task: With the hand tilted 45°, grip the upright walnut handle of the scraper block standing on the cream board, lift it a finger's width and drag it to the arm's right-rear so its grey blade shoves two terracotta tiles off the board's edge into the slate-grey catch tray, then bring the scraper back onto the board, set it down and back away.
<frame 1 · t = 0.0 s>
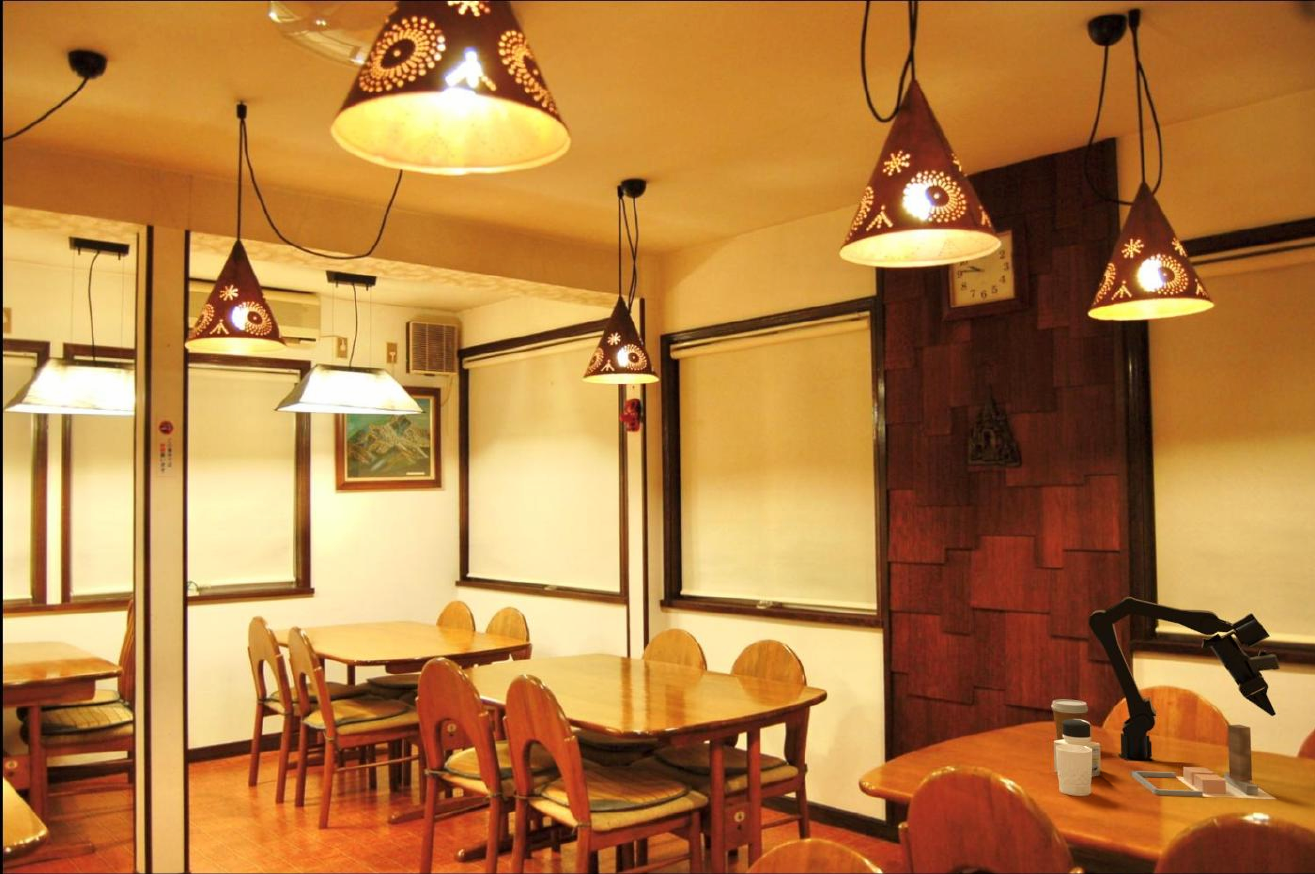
hand: (1272, 711, 259), 15 cm above the table, tool tilted 35°, fingers open, 9 cm apart
container: (1077, 774, 256), on the table
disposable coffee cup: (1070, 747, 285), on the table
tile a: (1209, 790, 237), point 1 cm above the table, touching board
white cup: (1075, 792, 240), on the table
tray: (1165, 790, 241), on the table
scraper: (1241, 787, 239), point 1 cm above the table, touching board
tile b: (1198, 782, 244), point 1 cm above the table, touching board
board: (1223, 792, 240), on the table
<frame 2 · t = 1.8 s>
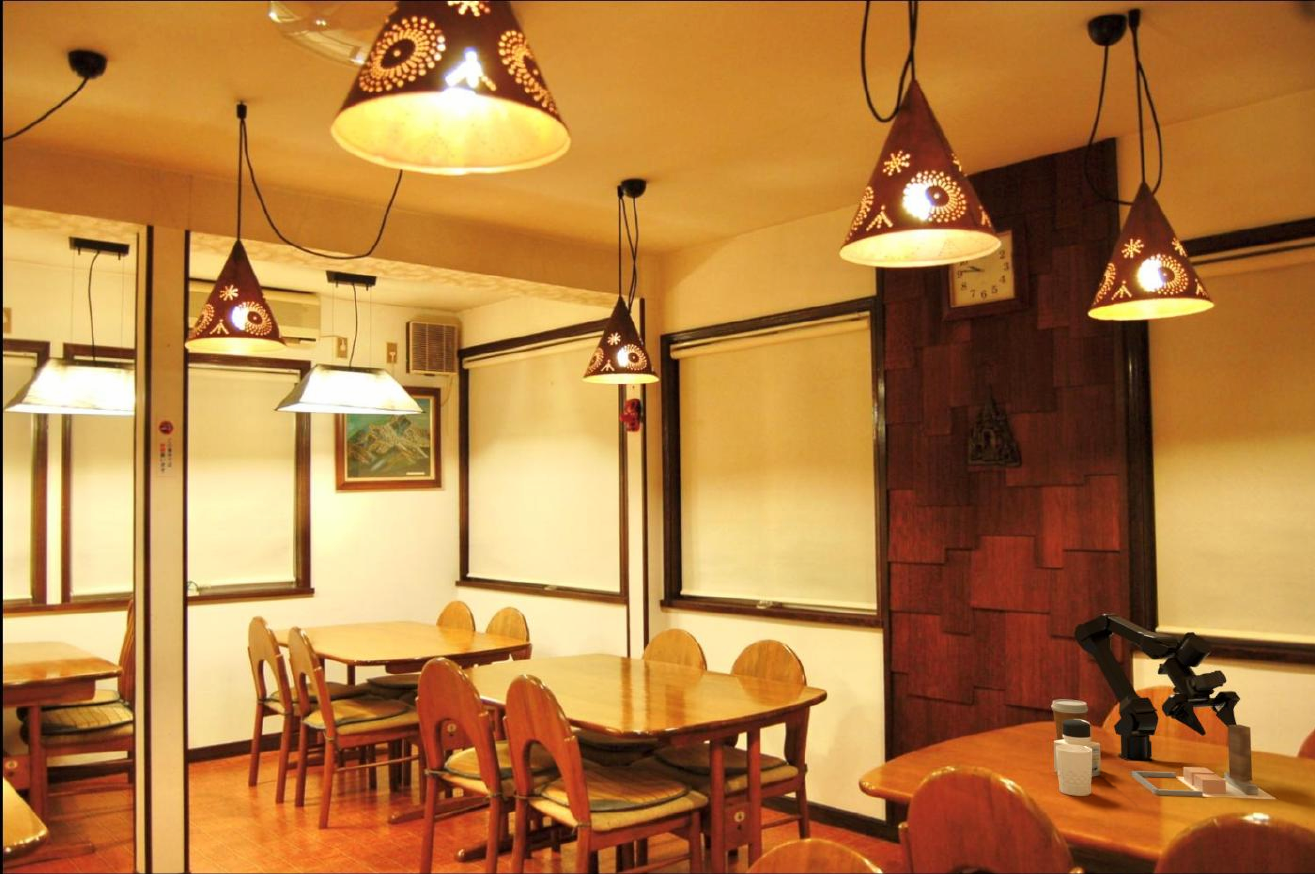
hand: (1220, 733, 245), 12 cm above the table, tool tilted 45°, fingers open, 9 cm apart
nothing on the table moved.
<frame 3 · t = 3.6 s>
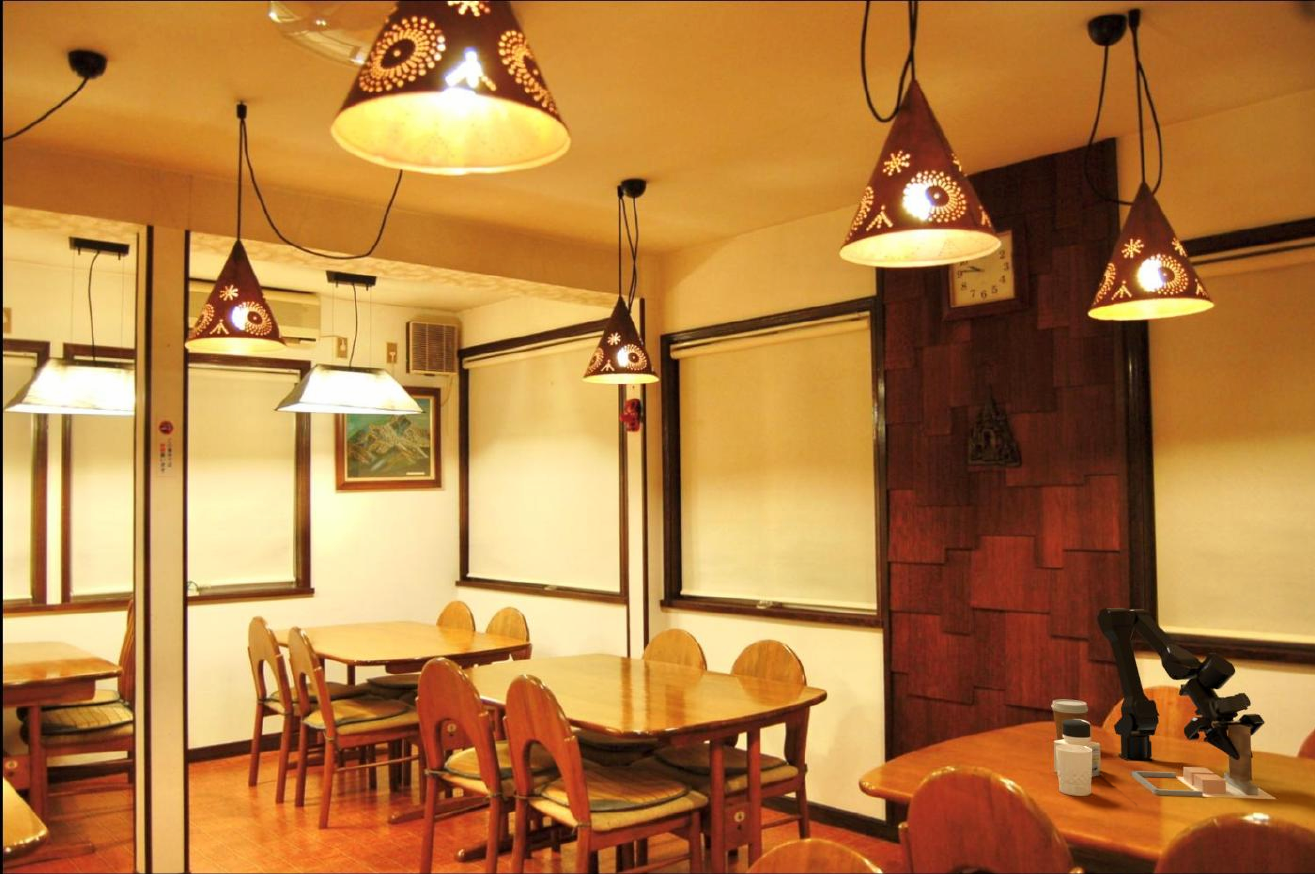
hand: (1244, 758, 238), 8 cm above the table, tool tilted 45°, fingers closed on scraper, 3 cm apart
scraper: (1241, 787, 239), point 1 cm above the table, touching board, gripper
everything else where it was.
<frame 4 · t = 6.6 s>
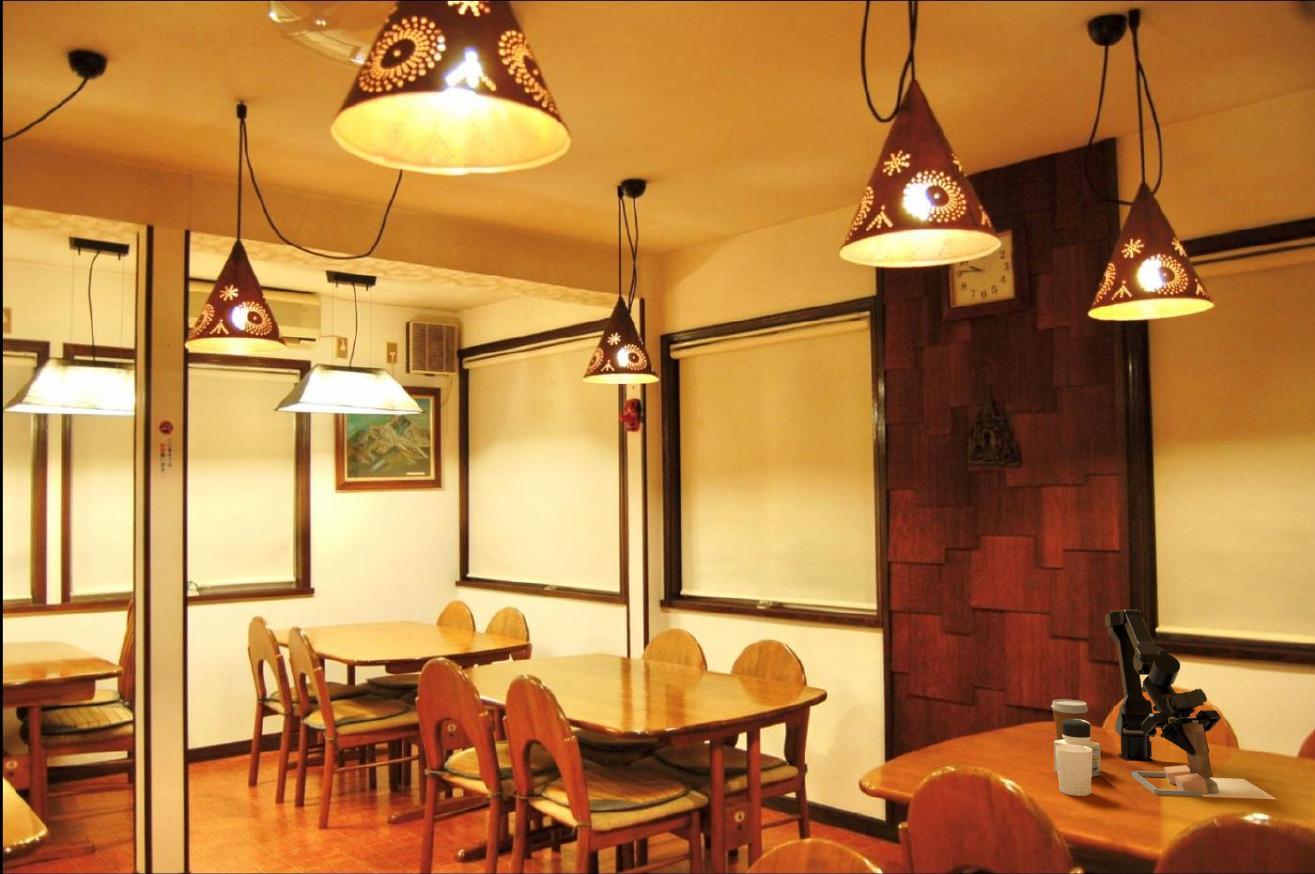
hand: (1200, 753, 240), 9 cm above the table, tool tilted 45°, fingers closed on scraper, 3 cm apart
tile a: (1192, 790, 237), point 1 cm above the table, tilted 11°, touching board
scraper: (1203, 785, 240), point 1 cm above the table, tilted 9°, touching gripper, tile b
tile b: (1179, 781, 245), point 1 cm above the table, tilted 10°, touching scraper
everything else where it was.
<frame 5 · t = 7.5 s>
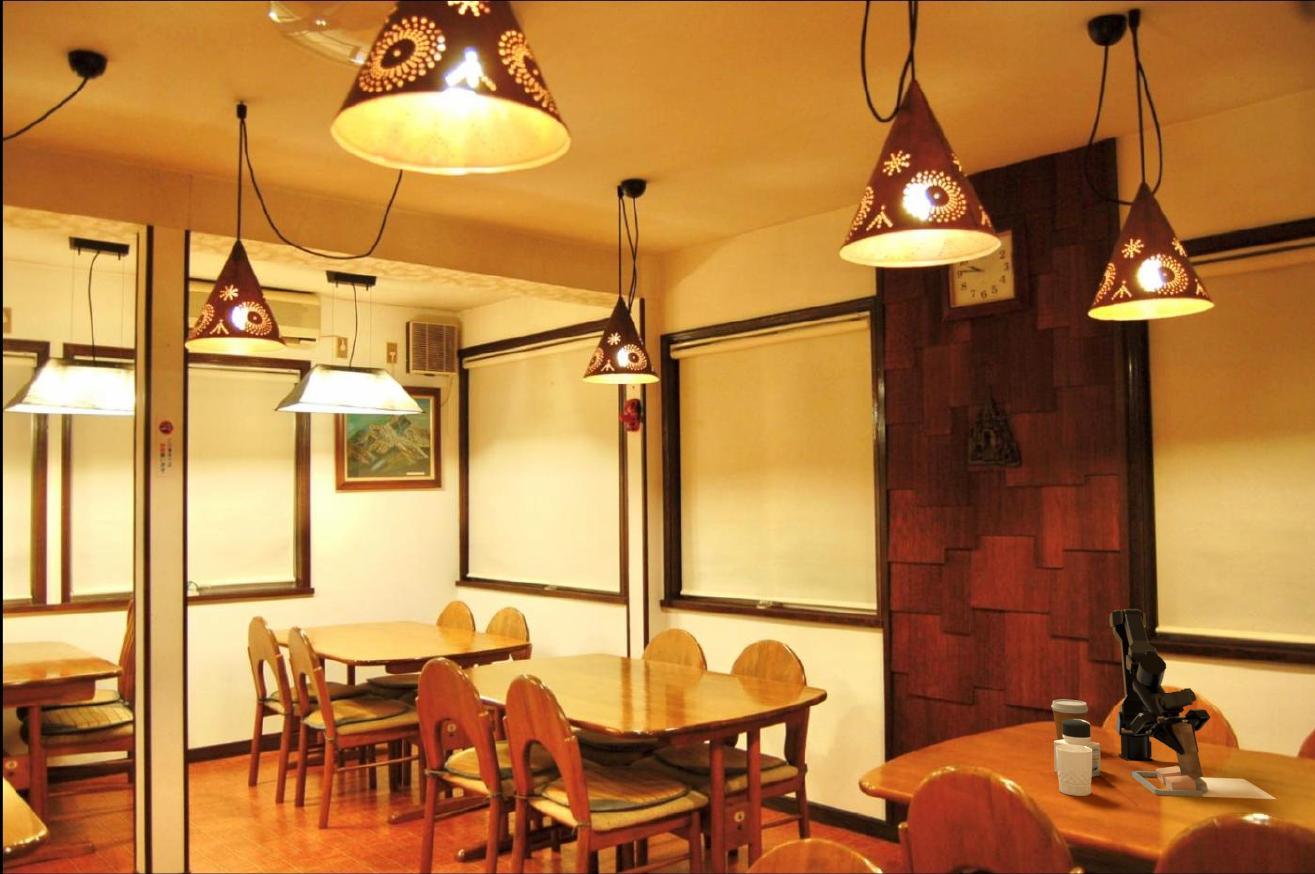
hand: (1190, 753, 240), 9 cm above the table, tool tilted 45°, fingers closed on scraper, 4 cm apart
tile a: (1181, 792, 237), point 1 cm above the table, tilted 7°, touching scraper, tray
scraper: (1194, 785, 240), point 1 cm above the table, tilted 11°, touching board, gripper, tile a, tile b
tile b: (1172, 782, 245), point 1 cm above the table, tilted 10°, touching board, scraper, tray
everything else where it was.
when the fingers open (9 cm above the table, at t = 9.0 s): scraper stays where it is, resting on board.
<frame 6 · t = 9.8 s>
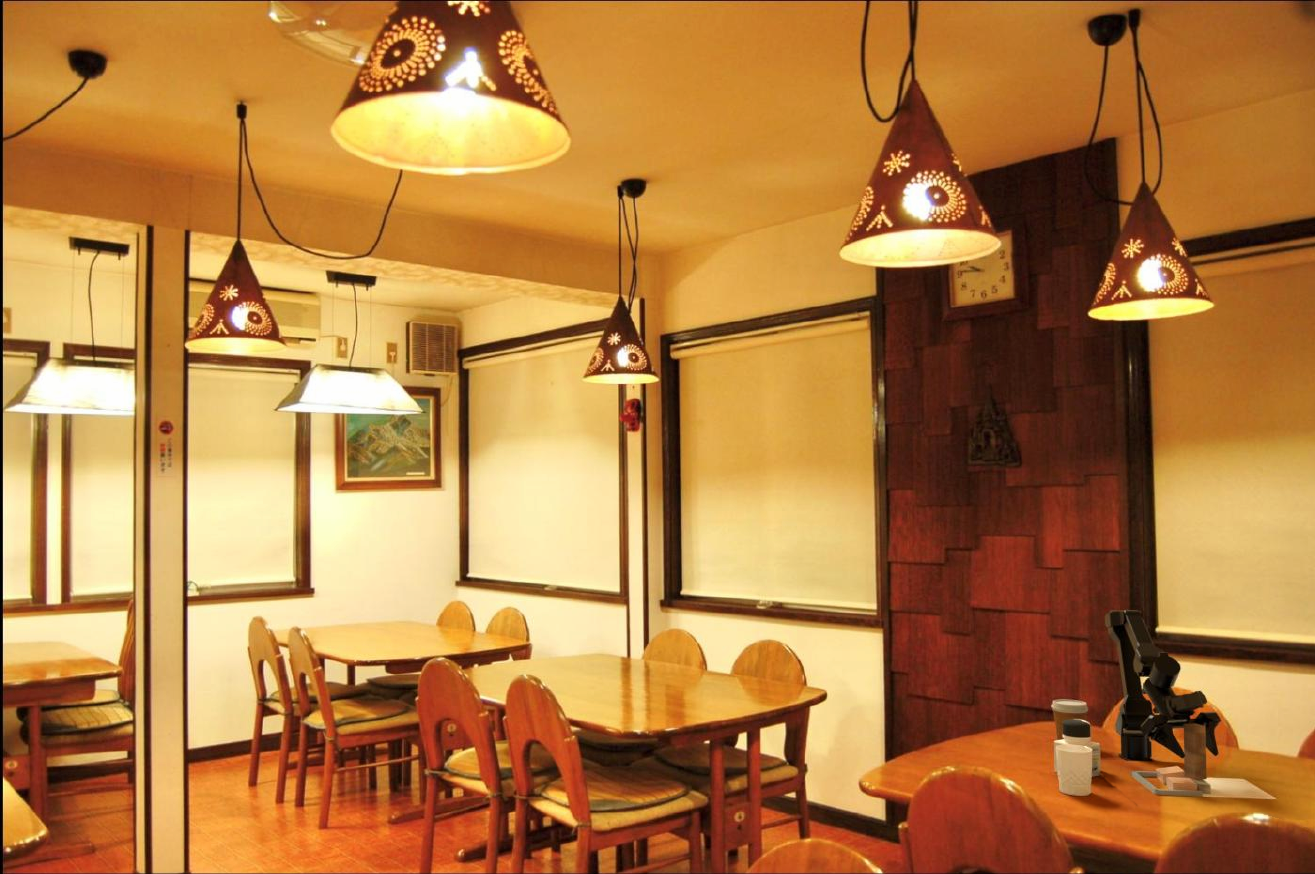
hand: (1200, 756, 240), 8 cm above the table, tool tilted 45°, fingers open, 9 cm apart
tile a: (1181, 793, 237), resting on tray
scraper: (1195, 786, 240), point 1 cm above the table, touching board
tile b: (1172, 782, 245), point 1 cm above the table, tilted 10°, touching board, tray
everything else where it was.
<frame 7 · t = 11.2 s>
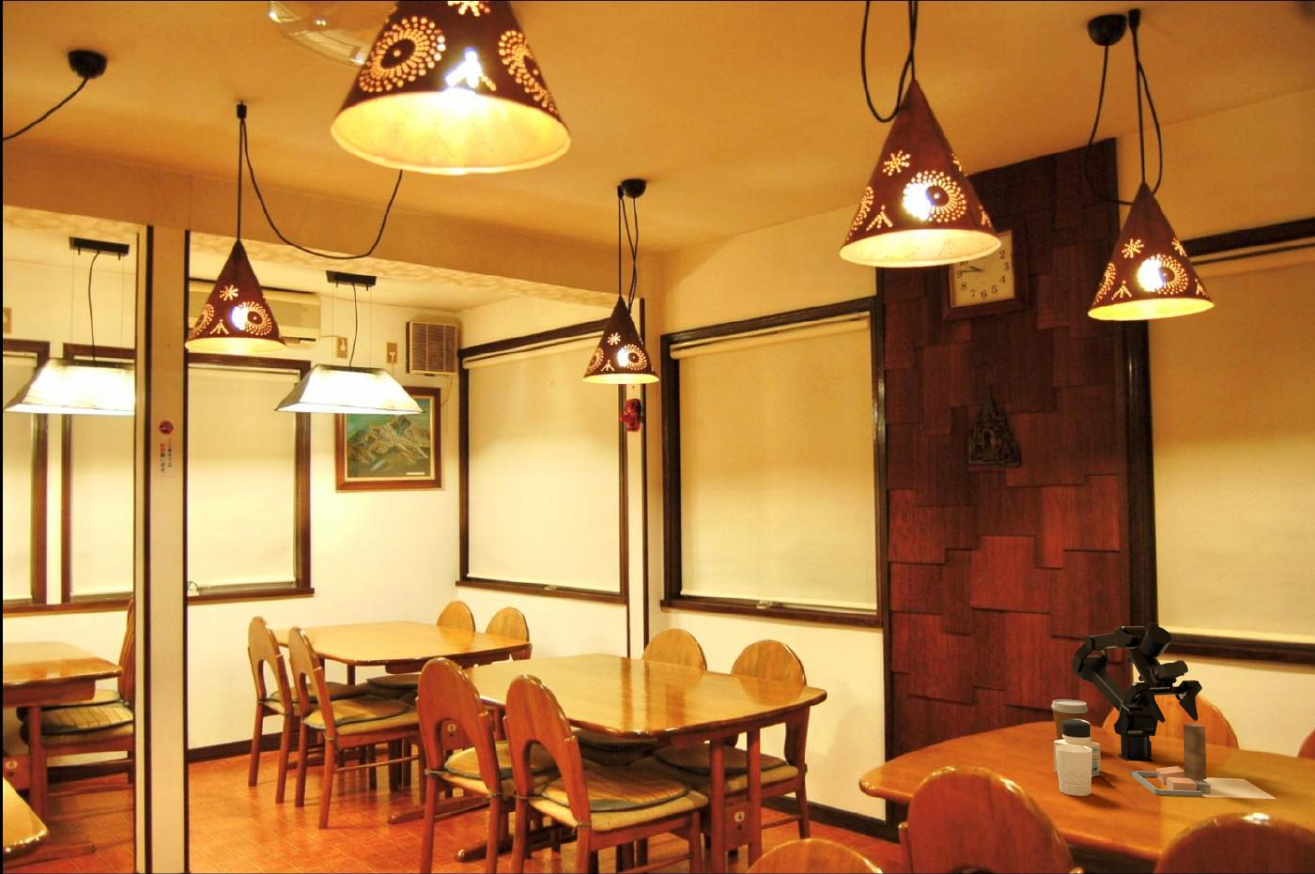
hand: (1180, 720, 255), 13 cm above the table, tool tilted 45°, fingers open, 9 cm apart
nothing on the table moved.
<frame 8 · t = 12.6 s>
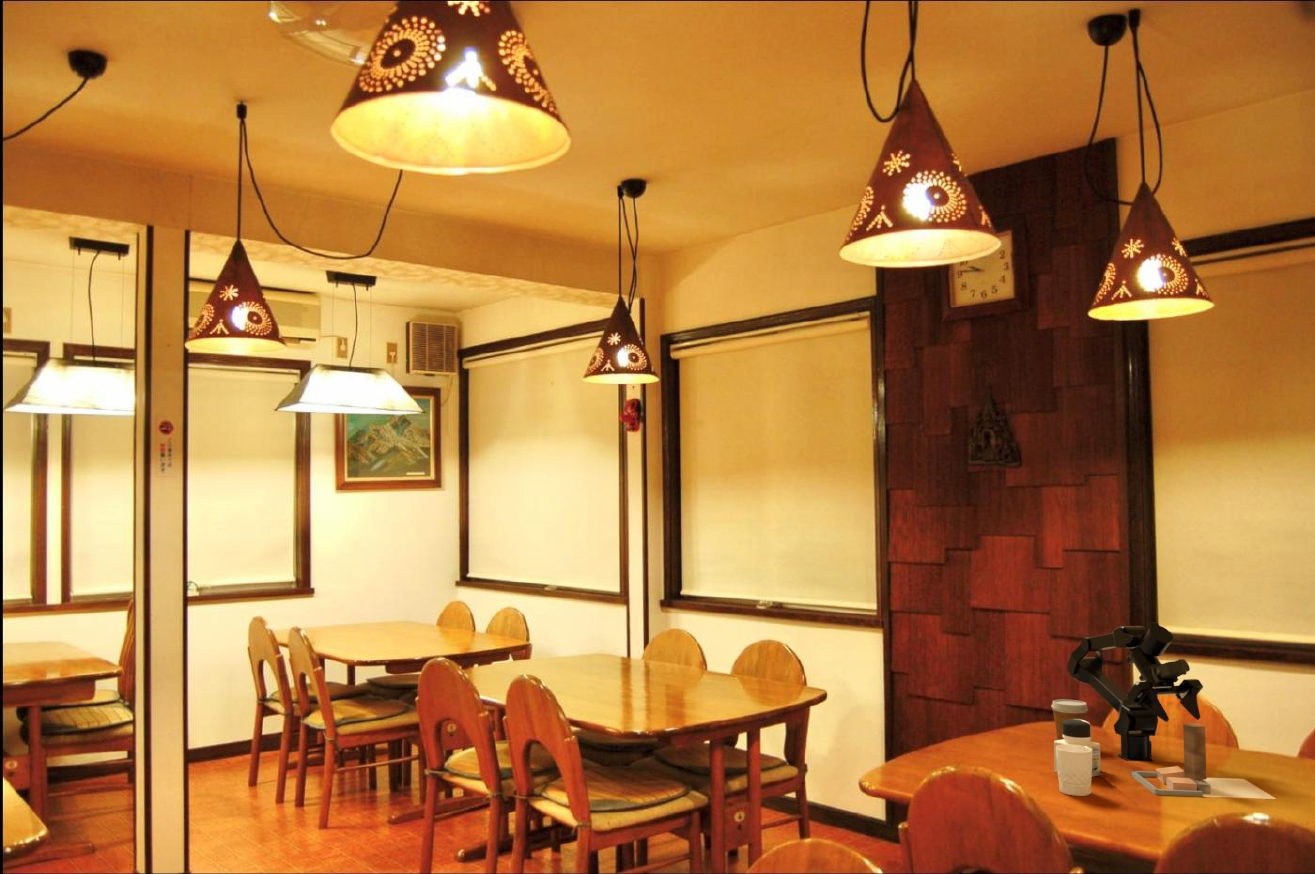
hand: (1183, 719, 255), 14 cm above the table, tool tilted 45°, fingers open, 9 cm apart
nothing on the table moved.
at the end: tile a inside the target area on the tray (4.4 cm from its centre), point 0.4 cm above the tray's base; tile b inside the target area on the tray (4.8 cm from its centre), point 0.8 cm above the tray's base; the gripper is holding nothing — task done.
